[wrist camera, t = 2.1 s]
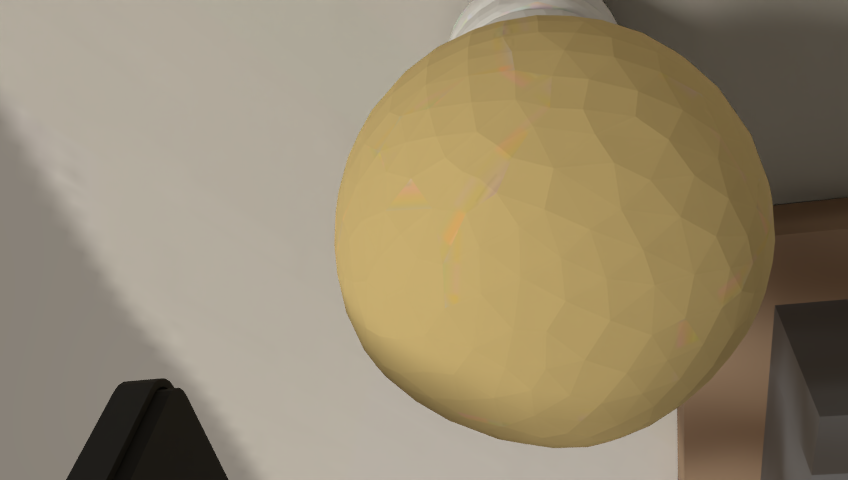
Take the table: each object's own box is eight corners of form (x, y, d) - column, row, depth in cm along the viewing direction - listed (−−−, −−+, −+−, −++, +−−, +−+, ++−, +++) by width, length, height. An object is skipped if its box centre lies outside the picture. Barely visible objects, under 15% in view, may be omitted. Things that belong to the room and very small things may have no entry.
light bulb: (744, -19, 17) (965, 301, 9) (581, 208, 20) (631, 578, 12) (467, -164, 15) (426, 51, 7) (347, 104, 19) (233, 441, 11)
